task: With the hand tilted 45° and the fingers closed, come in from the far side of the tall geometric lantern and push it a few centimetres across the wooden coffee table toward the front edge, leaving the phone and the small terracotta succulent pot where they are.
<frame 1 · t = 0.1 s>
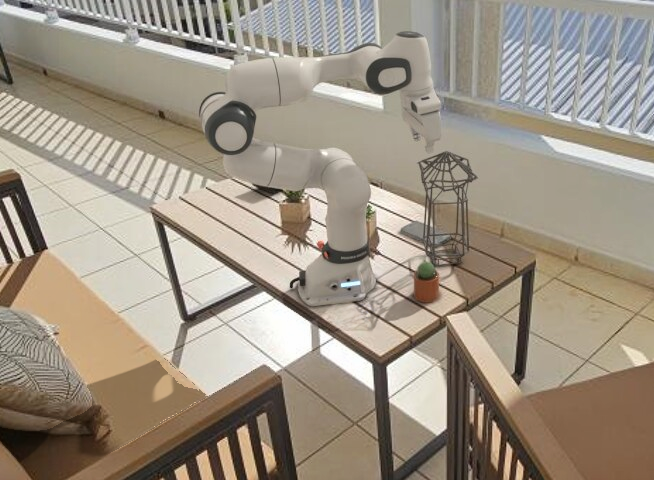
hand: (423, 145, 167), 39 cm above the table, tool pointing down, fingers open, 8 cm apart
geometric lantern: (446, 258, 191), on the table
phone: (425, 235, 204), on the table
succulent pot: (426, 295, 175), on the table
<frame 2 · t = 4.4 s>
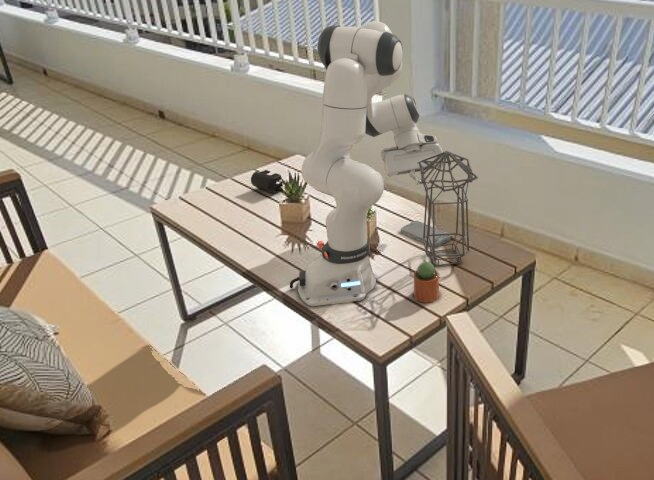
hand: (420, 183, 199), 16 cm above the table, tool tilted 45°, fingers closed
nothing on the table moved.
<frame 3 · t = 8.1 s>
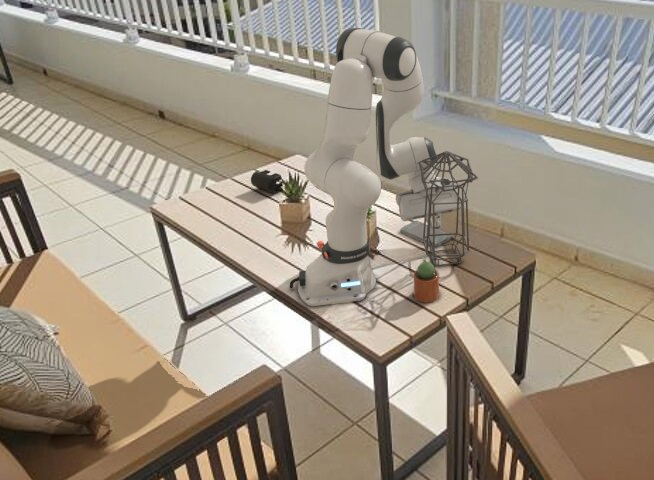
hand: (436, 228, 193), 7 cm above the table, tool tilted 45°, fingers closed
geometric lantern: (446, 258, 191), on the table, touching gripper
everything else where it was.
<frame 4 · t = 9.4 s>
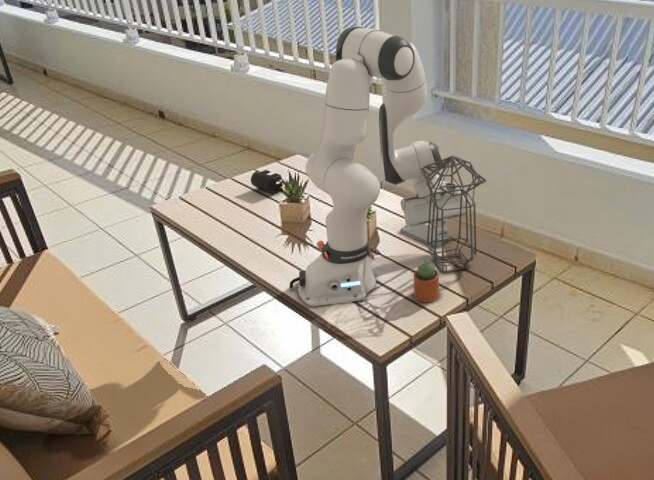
hand: (442, 234, 190), 7 cm above the table, tool tilted 45°, fingers closed
geometric lantern: (451, 264, 189), on the table, touching gripper
everything else where it was.
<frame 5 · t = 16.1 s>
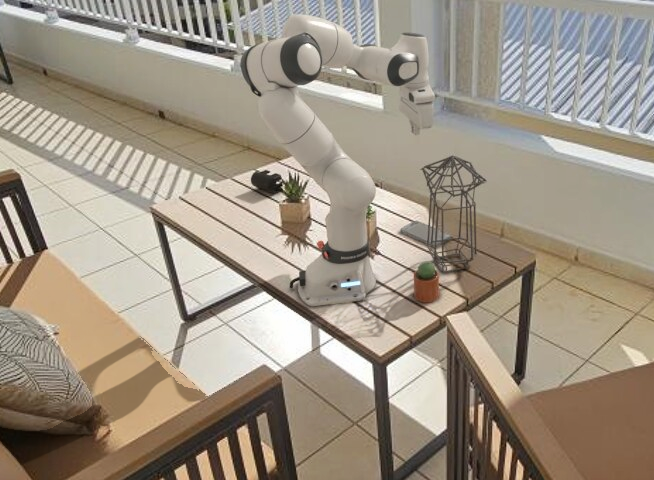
hand: (415, 133, 191), 33 cm above the table, tool pointing down, fingers closed
geometric lantern: (452, 264, 188), on the table
everything else where it was.
at the end: geometric lantern inside the target area (2.7 cm from its centre), on the table; geometric lantern tilted 0° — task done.
